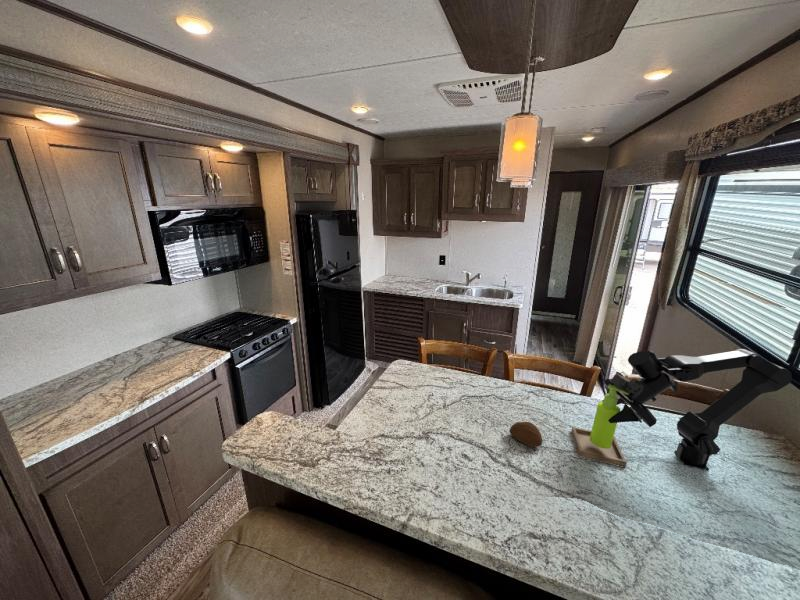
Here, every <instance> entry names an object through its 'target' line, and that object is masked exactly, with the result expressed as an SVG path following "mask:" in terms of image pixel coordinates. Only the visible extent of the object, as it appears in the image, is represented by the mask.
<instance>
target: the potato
mask: <svg viewBox="0 0 800 600" xmlns="http://www.w3.org/2000/svg"><path fill="white" fill-rule="evenodd" d="M509 433H510V435H511V436H512V438H514V439H515V440H517V441H519V442H521V443H522V444H524V445H526V446H527V447H530V448H531V447H532V448H538V447H541V446H542V444H543V437H542V433H541V432H540V429H539V428H538V427H537V426H536V425H535V424H534V423H533V422H530V421H518V422H515V423H514V424H513V425H512V426H511V427H509Z"/></svg>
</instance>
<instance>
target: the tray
mask: <svg viewBox="0 0 800 600" xmlns="http://www.w3.org/2000/svg"><path fill="white" fill-rule="evenodd" d="M591 431H592V430H589V429H585V428H582V427H581V428H580V427H575V426H572V429H571V435H572V437H573V438H572V439H573V442H574V445H575V449H576V452H577V456H578V457H582V458H586V459H589V458H590V459H589V460H593V459H594V461H597V460H598V461H597V462H601V461H602V462H601V463H605V462H606V463H605V464H608V463H610V464H609V465H612V464H615V465H614V466H616V465H619V466H618V467H620V466H623V467H622V468H624V467H625V468H626V466H627V463H628V462H627V460H626V458H625V455H624V454H623V451H622V450H621V447H620V445H619V443H618V441H617V440H616V437H615V436H614V437H613V441H612V444H611V447H610V448H608V449H605V448H600V447H598V446H596V445H594V444H593V443H592V442H591V441H590V435H591ZM611 463H612V464H611Z"/></svg>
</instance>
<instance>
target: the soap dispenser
mask: <svg viewBox="0 0 800 600" xmlns="http://www.w3.org/2000/svg"><path fill="white" fill-rule="evenodd" d="M608 388H609V389H610V391H609V394H607V393H605V395H604V397H603V399H604V401H603V400H602V401H599V402H598V403H597V407H596V411H595V415H594V419H593V423H592V427H591V430H590V431H591V435H590V441H591V442H592V443H593V444H594V445H596V446H598V447H600V448H605V449H608V448H610V447H611V444H612V441H613V437H615V431H616V429H617V425H618V423H610V422H609V421H608V420H609V419H610V418H611V417H613V416H614V415H615V414H617V413H618V412H620V411H621V408H620V407H619V406H618V405H617V401H618V400H619V399H618V398H617V397H616V396H615V395H616V391H619V392H622V393H624V394H626V395H629V393H628V392H626V391H624V390H620V389H619V388H617V387H616V386H613V385H609V386H608Z"/></svg>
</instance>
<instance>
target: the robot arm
mask: <svg viewBox="0 0 800 600" xmlns="http://www.w3.org/2000/svg"><path fill="white" fill-rule="evenodd" d="M627 363H628V364H629V365H630V366H631V367H632V369H633V370H634V371H635V372H636V373H637V375H638V376H639V377H641V378H640V379H639V380H638V379H637V378H632V379H631V380H630V379H628V378H627V377H624V376H622V375H621V374H619V373H615V374H614V375H613V377H611V378H608V377H607V378H606V379H604V380H603V381H602V383H604V385H605V389H606V394H609V391H610V389H609V388H608V386H609V385H613V386H616V387H617V388H619V389H620V390H624V391H626V392H628V393H629V395H626V394H624V393H622V392H619V391H616V395H615V396H616V397H617V398H618V401H617V405H616V406H618V405H621V404H622V402H621V400H620V399H622V400H623V401H624V402H625V403H624V405H623V407H622V409H620V412H618V413H617V414H615V415H614V416H613V417H611V418H610V419H609V420H608V421H609V422H610V423H617V424H618V423H627V422H628V423H629V422H636V423H637V422H639V423H643V422H644V424H646V425H647V426H648V427H649V428H651V427H653V426H654V425H656V424H657V421H658V419H657V418H656V417H655V415H654V414H653V413H652V412H651V411H650V410H649V408H648V407H646V406H645V405H644V404H646V403H647V402H649V401H652V402H655V401H657V398H656V397H657V396H659V395H661V393H663V392H665V391H666V390H668V389H670V390H672V391H674V392H678V384H679V382H683V383H684V382H685V383H686V382H690V381H694V380H698V379H700V378H701V377H702V376H703V375H705V374H709V373H714V372H715V373H716V372H721V371H728V370H734V369H735V370H736V369H741V368H744V369H743V370H742V373H741V374H742V375H741V379H740V381H739V382H737V384H735V385H734V386H733V387H732V388H730V389H729V390H728V391H726V392H725V393H724V394H723V395H721V397H719V398H718V399H716V400H715V401H714V402H712V404H710V405H709V406H708V407H706V408H705V409H704V410H702V411H701V412H696V413H694V412H692V411H691V410H690V411H687V412H686V413H685V414H684V415H683V416H681V417H679V418H678V419H679V420H678V421H677V422H676V429H677V431H678V435H679V437H681V438H682V439H681V442H678V445H677V448H676V450H674V453H675V454H676V456H677V458H679V460H680V462H681V463H682V464H683V465H686V466H688V467H692V468H696V469H700V470H704V469H706V470H705V471H710V468H709V467H708V466H707V465H708V461H709V459H710V456H712V455H718V453H719V452H720V451H721V448H720V447H719V446H718V445H717V443H716V442H715V440H716V438H718V436H719V431H720V428H721V426H722V425H723V424H724V423H726V422H727V421H728V420H730V419H731V418H732V417H734V415H736V414H737V413H738V412H740V411H741V410H742V409H744V408H745V407H746V406H748V405H749V404H750V403H751V402H752V401H754V400H756V398H758V397H760V396H761V395H762V394H767V393H772V392H773V393H774V392H778V391H780V390H781V389H783V388H784V387H786V386H788V385H790V383H792V380H793V376H792V375H793V374H792V372H791V370H790V369H788V368H784V367H783V366H782V365H781V366H780V365H778V364H776V363H773V362H771V361H768V360H766V359H765V358H764V357H762V356H761V355H760V354H758V353H756V352H753V351H750V350H748V349H746V348H738V349H736V350H733V351H732V350H731V351H725V352H718V353H713V354H707V355H701V356H700V355H699V356H689V355H683V354H682V355H680V354H678V355H676V354H675V355H674V354H673V355H668V356H667V357H657V356H656V354H655V353H654V351H652V350H650V349H647V350H645V351H637V352H633V353H631V354H630V356H629V357H628V358H627ZM670 376H671V377H673V378H675V379H673V378H671V377H670ZM676 380H678V381H679V382H678V381H676ZM602 401H604V398H603V399H602Z"/></svg>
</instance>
